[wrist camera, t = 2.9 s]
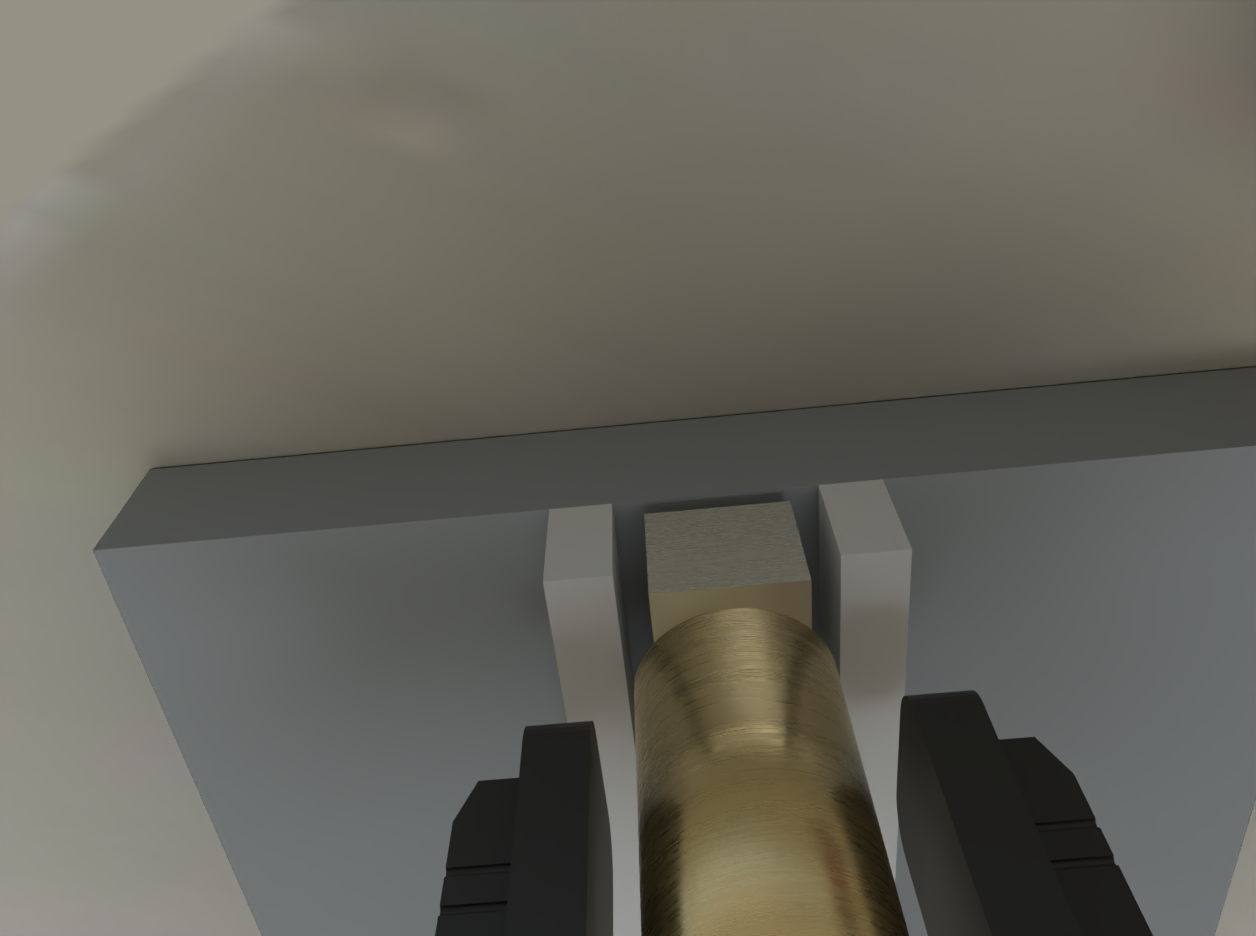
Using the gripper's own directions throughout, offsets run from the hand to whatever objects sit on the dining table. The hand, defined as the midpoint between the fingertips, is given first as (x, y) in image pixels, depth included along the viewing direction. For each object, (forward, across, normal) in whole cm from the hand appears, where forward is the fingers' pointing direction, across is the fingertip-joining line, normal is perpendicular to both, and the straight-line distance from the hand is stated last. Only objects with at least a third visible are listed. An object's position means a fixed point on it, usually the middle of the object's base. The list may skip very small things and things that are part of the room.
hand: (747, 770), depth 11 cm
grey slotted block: (+5, 0, +5) cm, 8 cm away
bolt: (+3, 0, +3) cm, 4 cm away
